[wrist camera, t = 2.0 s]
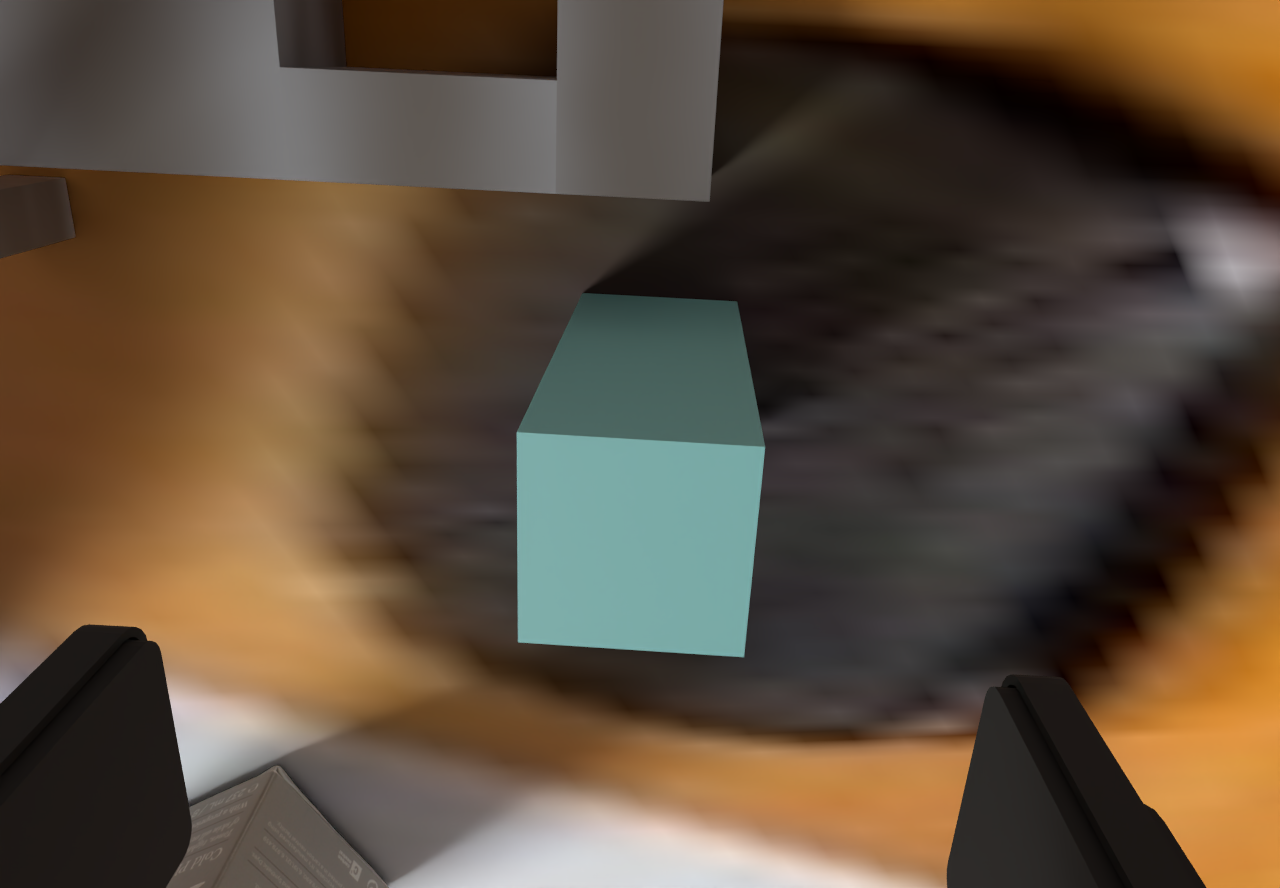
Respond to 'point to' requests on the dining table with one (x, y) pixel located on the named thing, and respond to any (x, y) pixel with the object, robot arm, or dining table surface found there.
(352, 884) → the skincare box
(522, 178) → the socket stand
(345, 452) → the dining table surface
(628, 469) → the peg
